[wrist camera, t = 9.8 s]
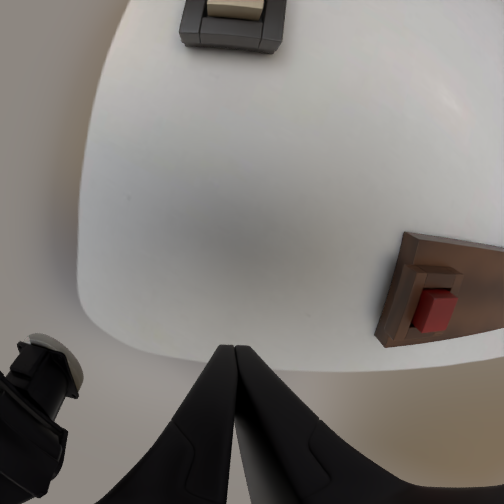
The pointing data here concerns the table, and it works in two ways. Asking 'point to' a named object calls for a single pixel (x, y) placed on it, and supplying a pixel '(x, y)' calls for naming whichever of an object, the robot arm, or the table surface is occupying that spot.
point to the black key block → (233, 28)
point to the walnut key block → (443, 277)
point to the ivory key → (235, 9)
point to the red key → (434, 310)
